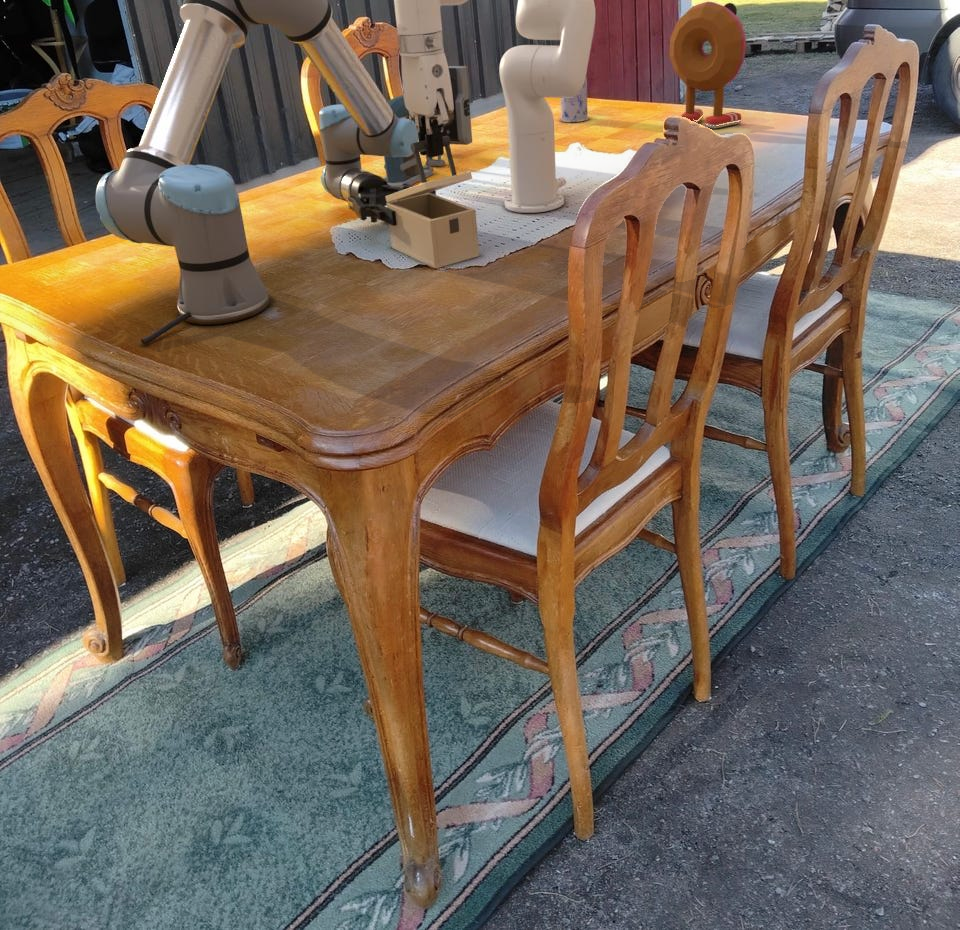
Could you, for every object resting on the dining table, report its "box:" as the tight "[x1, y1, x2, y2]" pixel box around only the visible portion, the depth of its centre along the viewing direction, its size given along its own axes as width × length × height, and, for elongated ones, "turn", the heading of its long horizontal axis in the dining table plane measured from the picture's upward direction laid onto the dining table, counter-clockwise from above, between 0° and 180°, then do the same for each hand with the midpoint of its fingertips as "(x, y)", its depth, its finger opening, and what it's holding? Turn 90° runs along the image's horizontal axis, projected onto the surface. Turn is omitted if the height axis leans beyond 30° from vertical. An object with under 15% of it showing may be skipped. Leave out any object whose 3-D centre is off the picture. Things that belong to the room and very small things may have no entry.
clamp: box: [382, 65, 473, 188], centre depth 234 cm, size 35×9×21 cm, turn 151°
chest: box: [386, 193, 480, 269], centre depth 182 cm, size 17×10×9 cm, turn 33°
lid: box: [385, 136, 473, 203], centre depth 177 cm, size 17×10×8 cm, turn 33°
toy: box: [669, 1, 747, 129], centre depth 252 cm, size 21×10×30 cm, turn 47°
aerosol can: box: [560, 72, 589, 123], centre depth 273 cm, size 8×8×20 cm
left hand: (418, 212), depth 185 cm, fingers closed on chest, 10 cm apart
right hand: (432, 154), depth 173 cm, fingers closed on lid
